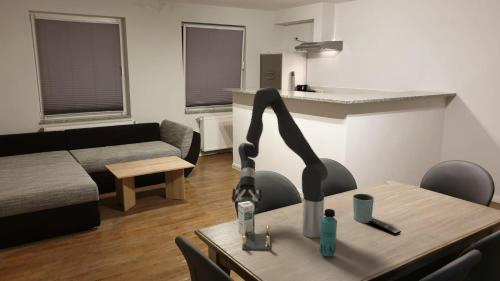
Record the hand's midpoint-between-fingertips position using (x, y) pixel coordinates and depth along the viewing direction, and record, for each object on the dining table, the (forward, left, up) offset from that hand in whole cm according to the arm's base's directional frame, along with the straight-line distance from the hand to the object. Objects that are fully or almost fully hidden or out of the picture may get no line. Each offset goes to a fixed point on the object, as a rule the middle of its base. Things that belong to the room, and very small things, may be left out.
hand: (246, 210), depth 173 cm
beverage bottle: (-40, +10, -11) cm, 42 cm away
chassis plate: (-9, +10, -10) cm, 17 cm away
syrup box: (-1, +2, -11) cm, 11 cm away
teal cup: (-50, -33, -11) cm, 61 cm away
